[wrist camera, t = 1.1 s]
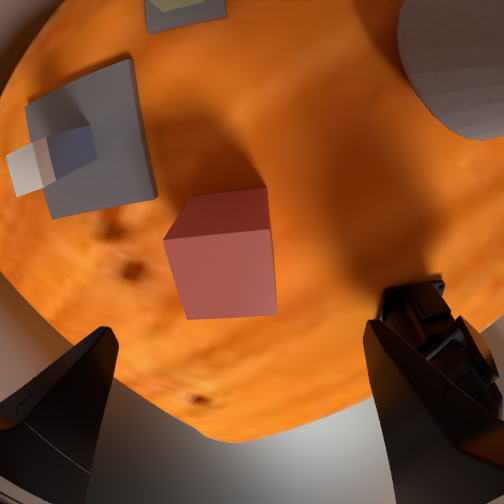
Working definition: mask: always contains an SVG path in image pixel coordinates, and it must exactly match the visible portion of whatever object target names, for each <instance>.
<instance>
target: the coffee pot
mask: <svg viewBox="0 0 504 504" xmlns="http://www.w3.org/2000/svg"><path fill="white" fill-rule="evenodd" d="M397 41H398V49H399V55H400V58H401V61H402V64H403V67H404V70H405V73H406V76H407V78H408V79H409V81H410V83H411V85H412V87H413V89H414V91H415V93H416V94H417V96H418V97H419V98H420V99H421V101H422V102H423V103H424V104H425V106H426V107H427V108H428V110H429V111H430V112H431V114H432V115H433V116H434V117H435V118H437V119H438V120H439V121H440V122H441V123H442V124H443V125H445V126H446V127H447V128H448V129H449V130H451V131H453V132H455V133H457V134H459V135H461V136H463V137H465V138H468V139H474V140H480V141H483V140H488V139H492V138H497V137H500V136H503V135H504V0H405V1H404V3H403V5H402V7H401V9H400V11H399V18H398V27H397Z"/></svg>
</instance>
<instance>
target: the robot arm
mask: <svg viewBox="0 0 504 504" xmlns="http://www.w3.org/2000/svg"><path fill="white" fill-rule="evenodd" d="M444 288H445V283H444V282H443V281H442V280H437V281H430V282H424V283H418V284H411V285H404V286H397V287H390V288H387V289H385V290H384V292H383V297H382V302H381V307H380V312H379V317H378V319H373V320H368V321H367V323H366V328H365V332H364V336H363V345H364V351H365V357H366V363H367V370H368V376H369V382H370V386H371V390H372V393H373V397H374V401H375V405H376V408H377V413H378V417H379V420H380V425H381V429H382V433H383V437H384V442H385V446H386V451H387V456H388V460H389V465H390V470H391V475H392V480H393V484H394V486H393V487H394V492H395V498H396V504H504V421H503V420H502V408H503V396H502V394H501V392H500V391H499V388H498V386H497V385H496V383H495V381H496V380H497V379H498V378H499V373H498V370H497V367H496V364H495V361H494V358H493V355H492V353H491V350H490V349H489V347H488V346H487V344H486V343H485V341H484V340H483V338H482V337H481V335H480V334H479V333H478V332H477V331H476V330H475V329H474V328H473V327H472V326H471V325H470V324H469V323H468V322H467V321H466V320H465V319H464V318H463V317H462V316H461V315H460V316H459V317H458V318H457V319H456V321H455V319H454V318H453V316H452V315H451V309H450V308H449V306H448V305H447V303H446V302H445V301H444V299H443V298H442V295H443V291H444ZM389 293H390V294H389ZM118 350H119V343H118V341H117V339H116V337H115V335H114V333H113V331H112V329H111V328H110V327H106V326H100V327H99V328H97V329H96V330H95V331H93V332H92V333H91V334H89V335H88V336H87V337H85V338H84V339H83V340H81V341H80V342H79V343H78V344H76V345H75V346H74V347H72V348H71V349H70V350H69V351H67V352H66V353H65V354H63V355H62V356H61V357H60V358H58V359H57V360H56V361H54V362H53V363H52V364H51V365H49V366H48V367H47V368H46V369H44V370H43V371H42V372H41V373H40V374H38V375H37V376H36V377H34V378H33V379H32V380H31V381H29V382H28V383H27V384H26V385H24V386H23V387H22V388H20V389H19V390H17V391H16V392H15V393H13V394H12V395H10V396H9V397H8V398H6V399H5V400H3V401H1V402H0V504H86V498H87V492H88V486H89V480H90V473H91V469H92V463H93V458H94V453H95V449H96V444H97V440H98V435H99V431H100V427H101V423H102V419H103V415H104V411H105V407H106V403H107V400H108V396H109V392H110V389H111V385H112V380H113V376H114V371H115V365H116V360H117V355H118Z"/></svg>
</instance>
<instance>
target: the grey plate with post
mask: <svg viewBox="0 0 504 504" xmlns="http://www.w3.org/2000/svg"><path fill="white" fill-rule="evenodd" d="M25 112H26V118H27V124H28V130H29V135H30V140H31V143H29V144H27V145H25V146H23V147H21V148H19V149H17V150H16V151H14V152H12V153H10V154H8V155H6V159H7V163H8V167H9V171H10V175H11V179H12V182H13V186H14V189H15V193H16V196H17V197H19V196H21V195H24V194H27V193H30V192H32V191H35V190H38V189H41V188H42V189H43V192H44V195H45V199H46V202H47V205H48V208H49V211H50V214H51V217H52V220H53V219H58V218H62V217H66V216H71V215H75V214H80V213H85V212H90V211H94V210H99V209H105V208H110V207H115V206H120V205H126V204H131V203H137V202H143V201H149V200H155V199H156V198H157V197H158V192H157V188H156V183H155V179H154V175H153V170H152V165H151V161H150V156H149V151H148V146H147V141H146V136H145V130H144V125H143V119H142V114H141V108H140V102H139V95H138V89H137V82H136V75H135V68H134V60H131V59H127V60H124V61H121V62H118V63H115V64H113V65H110V66H107V67H105V68H102V69H100V70H97V71H95V72H93V73H90V74H88V75H86V76H83V77H81V78H79V79H77V80H74V81H72V82H70V83H68V84H66V85H64V86H62V87H60V88H58V89H56V90H54V91H52V92H50V93H48V94H46V95H45V96H43V97H41V98H39V99H37V100H36V101H34V102H32V103H30V104H29V105H27V106H25Z"/></svg>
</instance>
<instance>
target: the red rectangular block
mask: <svg viewBox="0 0 504 504" xmlns="http://www.w3.org/2000/svg"><path fill="white" fill-rule="evenodd" d="M163 243H164V247H165V250H166V254H167V257H168V261H169V264H170V267H171V271H172V274H173V277H174V280H175V283H176V287H177V290H178V293H179V296H180V299H181V302H182V305H183V308H184V311H185V314H186V317H187V320H193V319H217V318H236V317H252V316H266V315H278V312H277V295H276V280H275V265H274V252H273V241H272V231H271V221H270V211H269V202H268V192H267V187H265V188H255V189H246V190H237V191H228V192H220V193H212V194H204V195H197V196H191V198H190V199H189V200H188V202H187V203H186V205H185V206H184V208H183V209H182V211H181V212H180V214H179V216H178V217H177V219H176V220H175V222H174V223H173V225H172V226H171V228H170V229H169V231H168V233H167V234H166V236H165V237H164V239H163Z"/></svg>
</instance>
